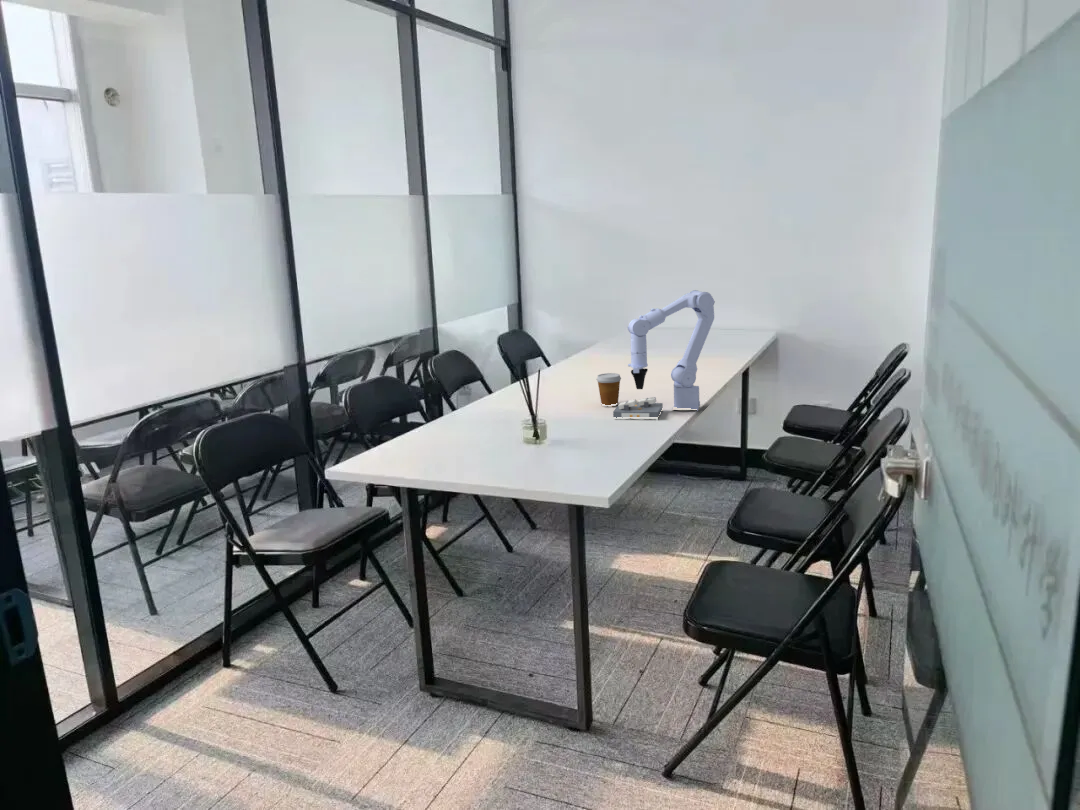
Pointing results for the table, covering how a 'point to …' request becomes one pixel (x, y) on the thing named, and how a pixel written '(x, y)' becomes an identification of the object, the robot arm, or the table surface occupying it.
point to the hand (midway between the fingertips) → (639, 388)
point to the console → (639, 410)
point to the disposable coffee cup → (609, 387)
